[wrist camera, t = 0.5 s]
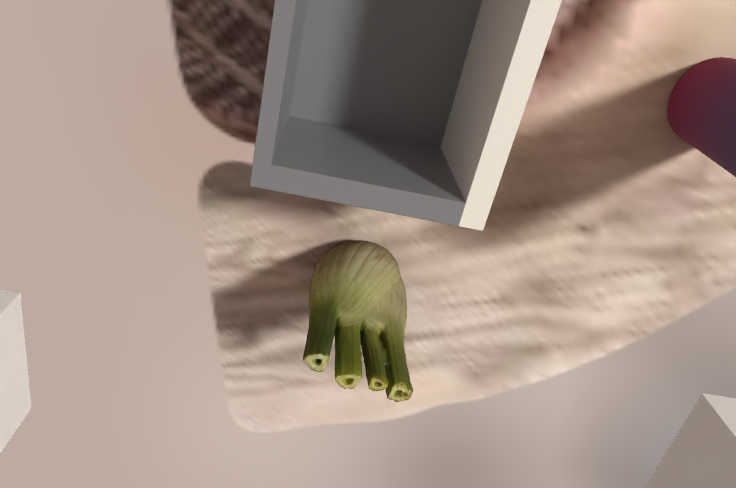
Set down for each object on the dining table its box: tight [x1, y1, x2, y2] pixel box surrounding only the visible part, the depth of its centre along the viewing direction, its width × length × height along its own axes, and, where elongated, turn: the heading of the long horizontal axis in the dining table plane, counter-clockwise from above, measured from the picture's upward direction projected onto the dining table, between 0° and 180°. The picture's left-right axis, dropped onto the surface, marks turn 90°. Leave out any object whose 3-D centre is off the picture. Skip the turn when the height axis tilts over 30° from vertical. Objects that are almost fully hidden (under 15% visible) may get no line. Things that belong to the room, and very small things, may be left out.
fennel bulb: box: [303, 240, 413, 402], centre depth 33 cm, size 6×5×12 cm
